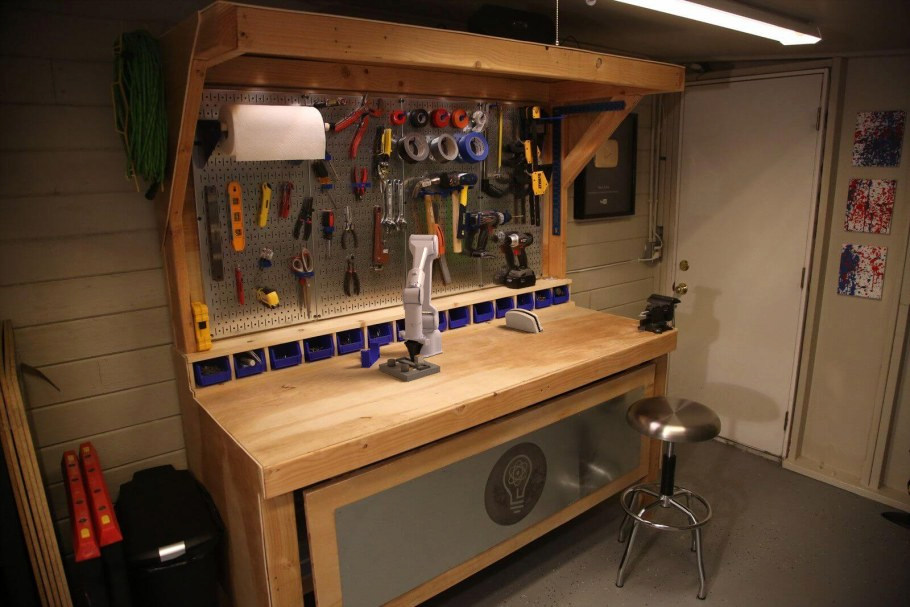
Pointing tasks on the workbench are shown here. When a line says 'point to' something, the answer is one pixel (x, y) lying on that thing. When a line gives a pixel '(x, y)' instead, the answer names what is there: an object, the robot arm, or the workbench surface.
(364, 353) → the blue block
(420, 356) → the fader tab
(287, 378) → the workbench surface
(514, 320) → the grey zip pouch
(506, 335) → the workbench surface
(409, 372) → the console board
